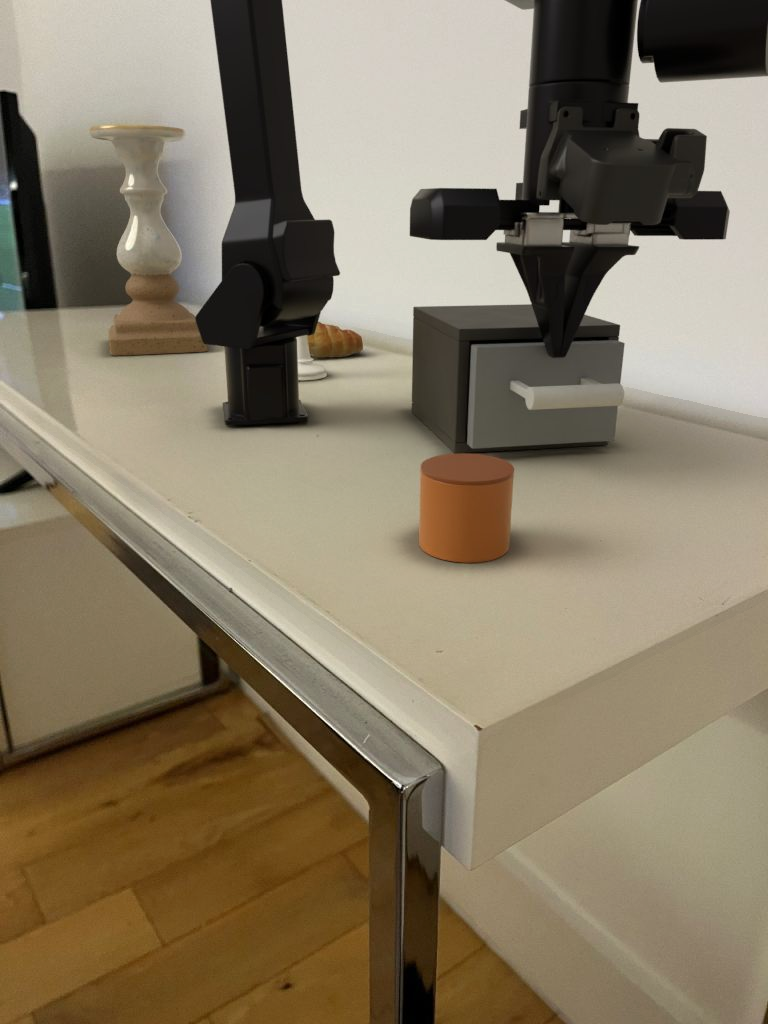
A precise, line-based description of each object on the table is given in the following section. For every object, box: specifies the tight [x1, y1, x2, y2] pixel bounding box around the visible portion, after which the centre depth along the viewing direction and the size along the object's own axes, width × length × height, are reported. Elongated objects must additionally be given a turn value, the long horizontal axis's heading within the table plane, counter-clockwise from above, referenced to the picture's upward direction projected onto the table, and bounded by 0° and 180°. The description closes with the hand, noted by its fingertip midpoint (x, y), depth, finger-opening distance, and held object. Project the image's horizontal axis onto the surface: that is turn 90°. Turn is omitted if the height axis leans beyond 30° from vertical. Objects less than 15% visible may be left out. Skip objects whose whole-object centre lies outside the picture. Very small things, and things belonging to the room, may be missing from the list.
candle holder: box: [89, 124, 209, 356], centre depth 95 cm, size 11×11×24 cm
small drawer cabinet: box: [411, 303, 621, 454], centre depth 63 cm, size 13×12×9 cm
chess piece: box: [296, 335, 328, 382], centre depth 81 cm, size 5×5×10 cm
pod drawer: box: [466, 337, 625, 449], centre depth 58 cm, size 16×10×7 cm, turn 12°
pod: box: [418, 453, 515, 564], centre depth 41 cm, size 5×5×4 cm
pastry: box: [307, 321, 364, 359], centre depth 93 cm, size 9×7×4 cm
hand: (556, 356), depth 53 cm, fingers closed
